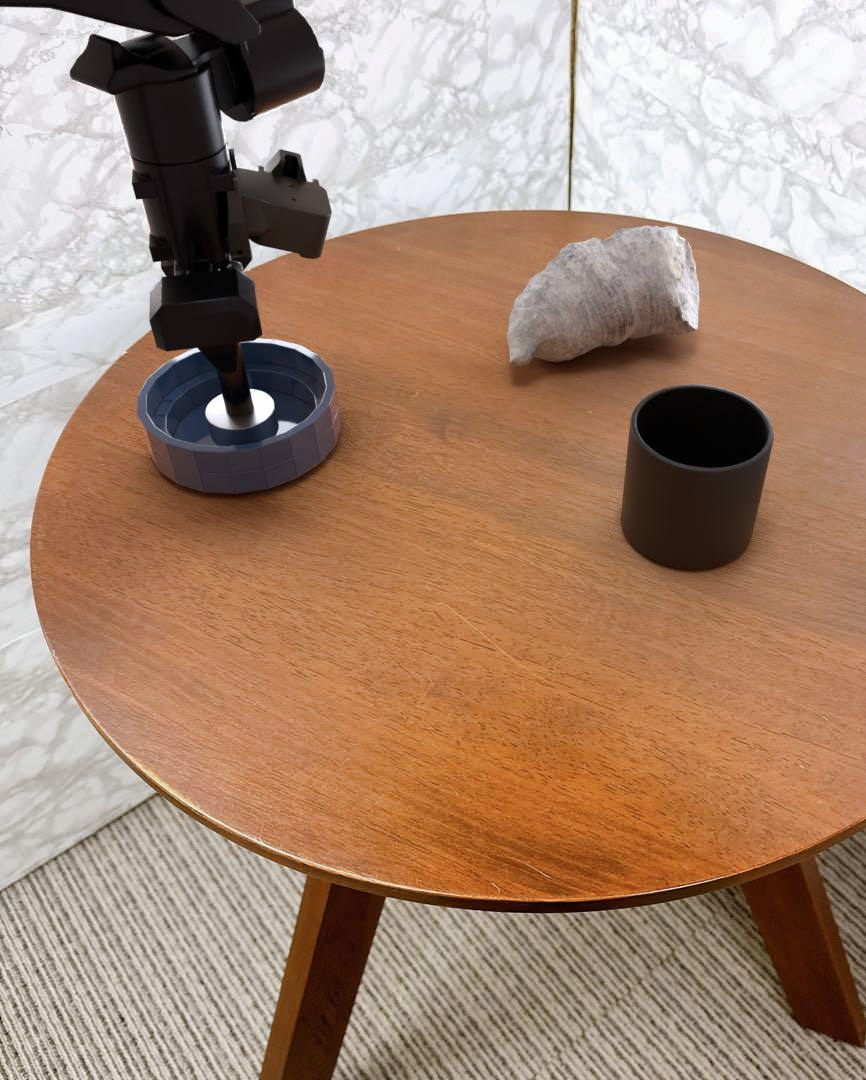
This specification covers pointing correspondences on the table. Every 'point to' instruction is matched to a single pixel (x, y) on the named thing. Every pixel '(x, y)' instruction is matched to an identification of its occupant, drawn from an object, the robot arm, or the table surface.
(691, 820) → the table surface
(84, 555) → the table surface
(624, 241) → the seashell
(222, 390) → the paper towel holder
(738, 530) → the black cup
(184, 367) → the bowl
